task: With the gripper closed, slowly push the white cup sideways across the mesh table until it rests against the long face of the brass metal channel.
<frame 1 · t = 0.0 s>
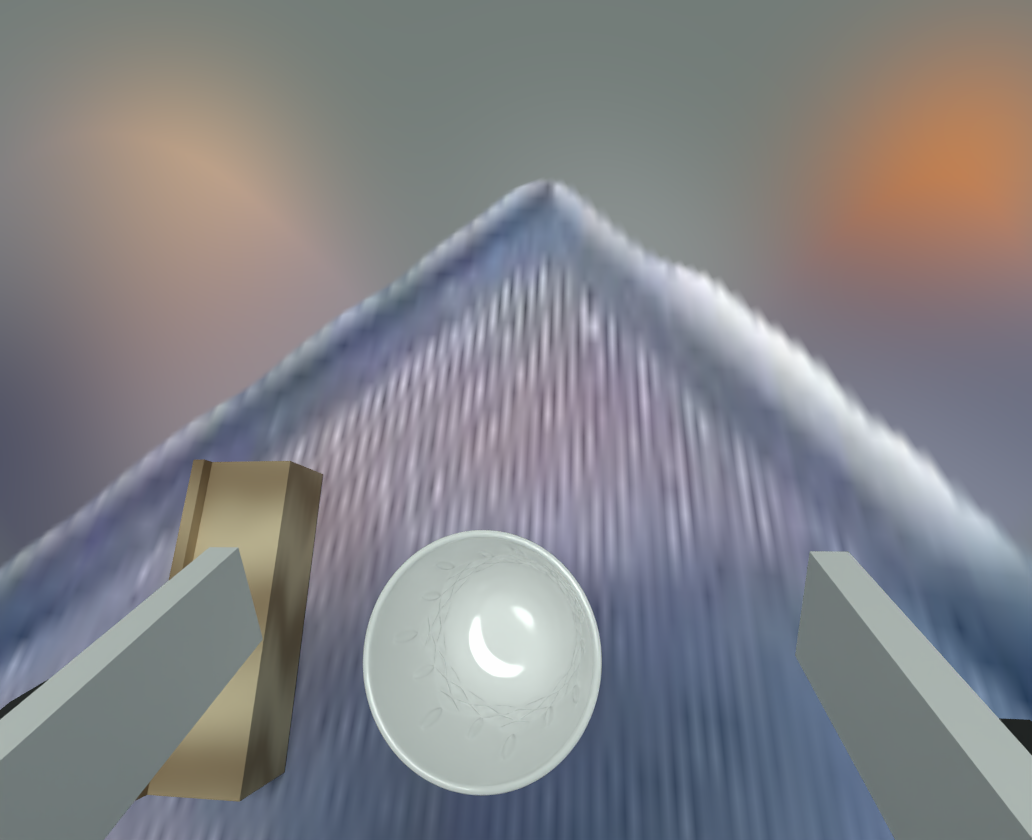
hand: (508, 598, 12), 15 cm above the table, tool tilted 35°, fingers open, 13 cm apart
white cup: (516, 626, 26), on the table
brass metal channel: (261, 610, 28), on the table
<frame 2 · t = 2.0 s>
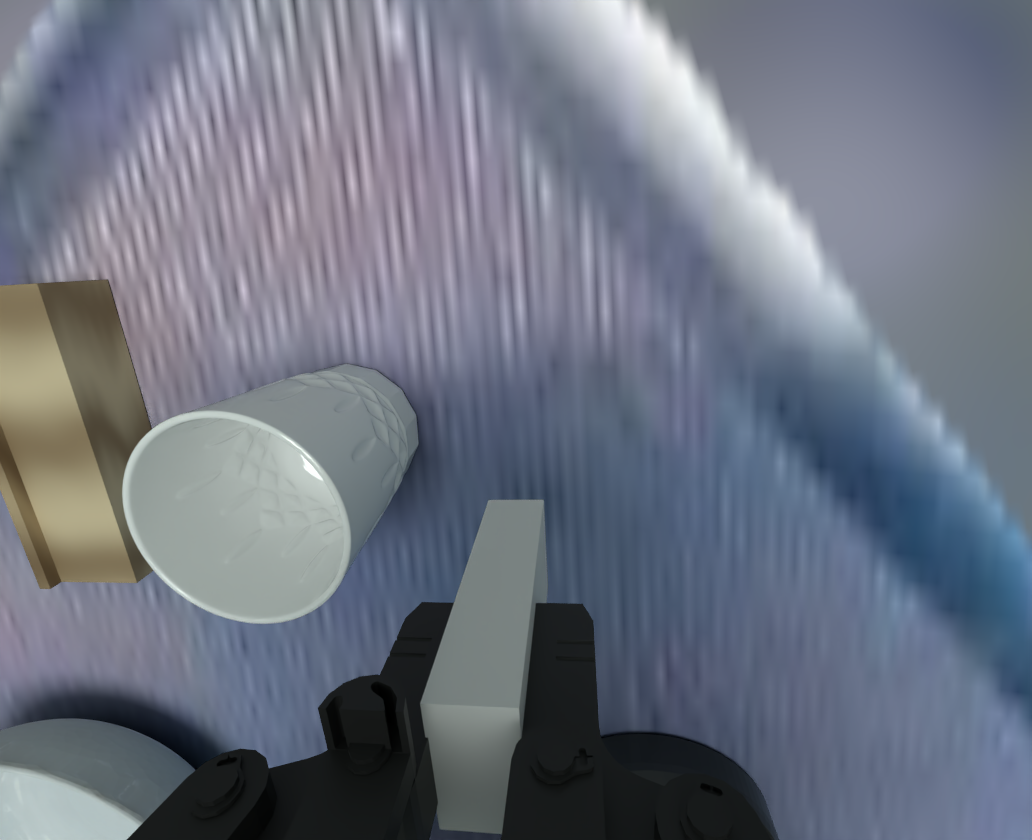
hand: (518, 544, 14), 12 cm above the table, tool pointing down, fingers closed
serving bowl: (139, 783, 37), on the table
white cup: (357, 426, 26), on the table
brass metal channel: (107, 425, 28), on the table
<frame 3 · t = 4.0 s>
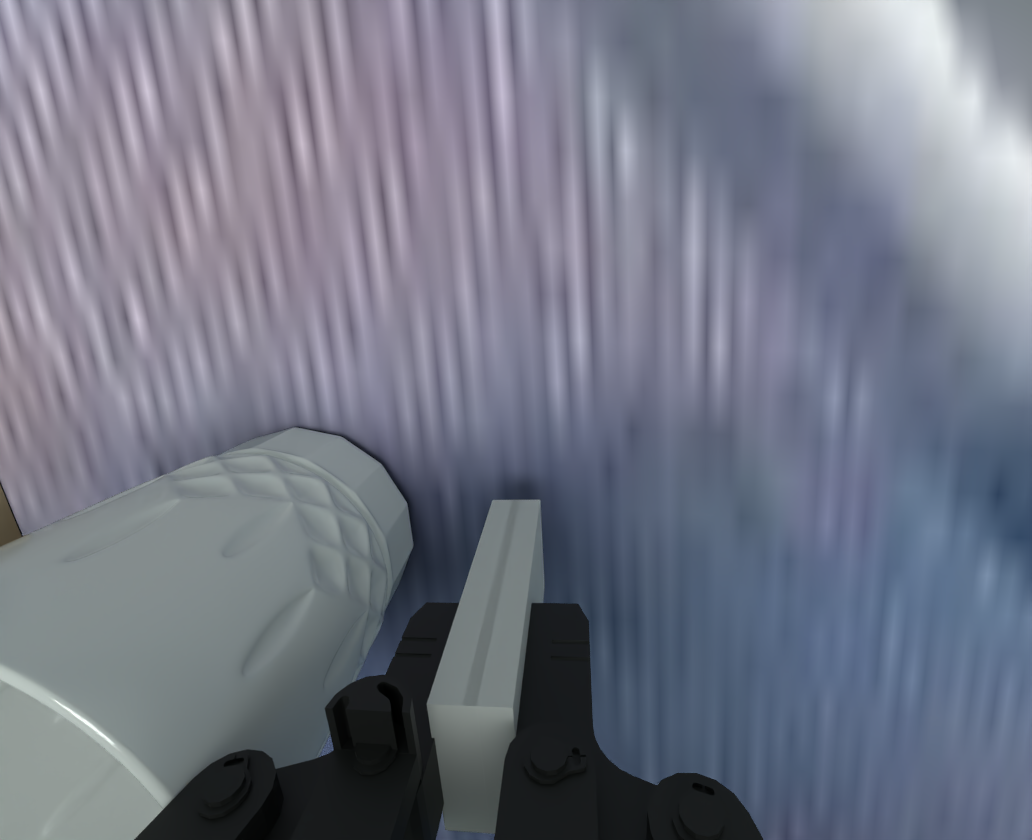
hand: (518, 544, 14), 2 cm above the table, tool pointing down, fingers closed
white cup: (320, 518, 17), on the table, touching gripper, hand
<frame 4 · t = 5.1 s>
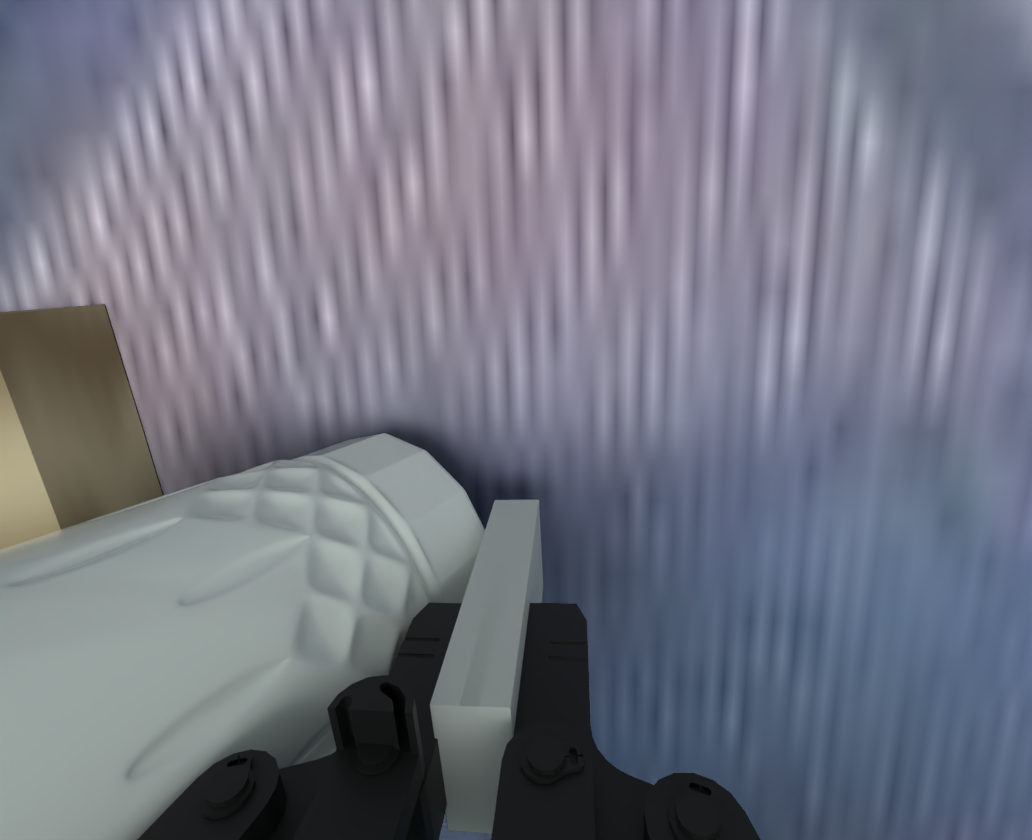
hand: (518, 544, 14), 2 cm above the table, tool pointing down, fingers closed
white cup: (412, 534, 15), point 1 cm above the table, touching gripper
brass metal channel: (105, 525, 18), on the table
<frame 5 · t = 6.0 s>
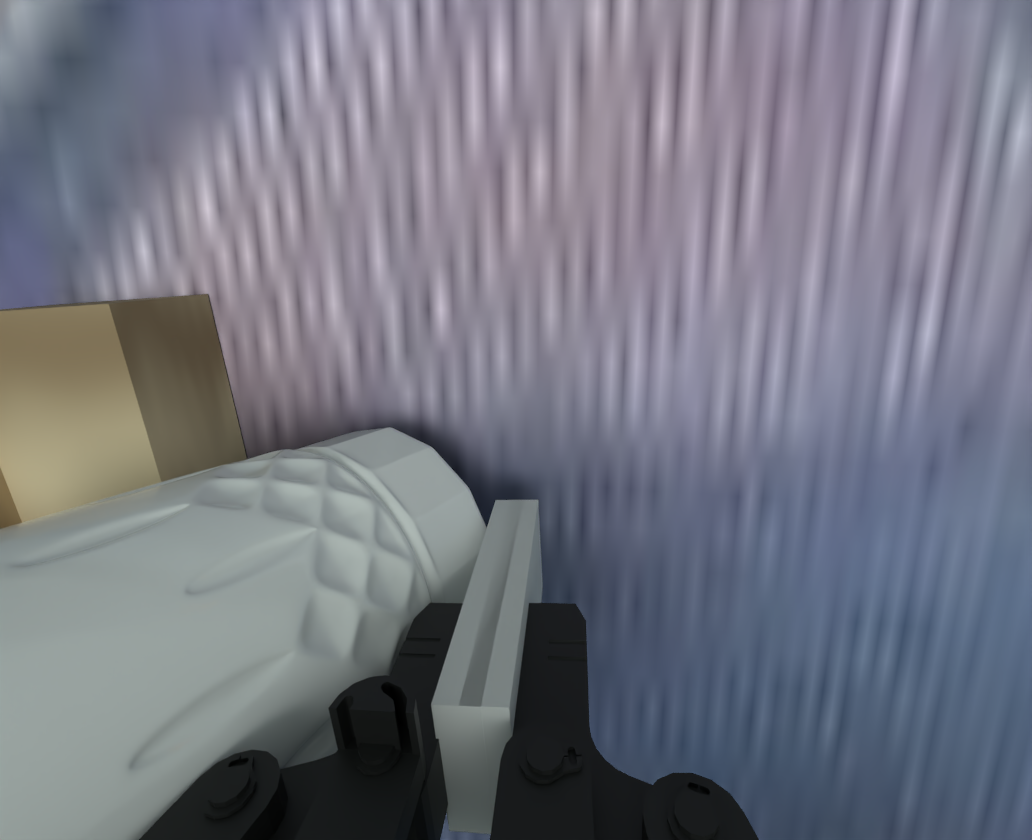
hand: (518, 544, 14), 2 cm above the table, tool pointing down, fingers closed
white cup: (411, 530, 15), point 1 cm above the table, touching gripper
brass metal channel: (193, 522, 18), on the table
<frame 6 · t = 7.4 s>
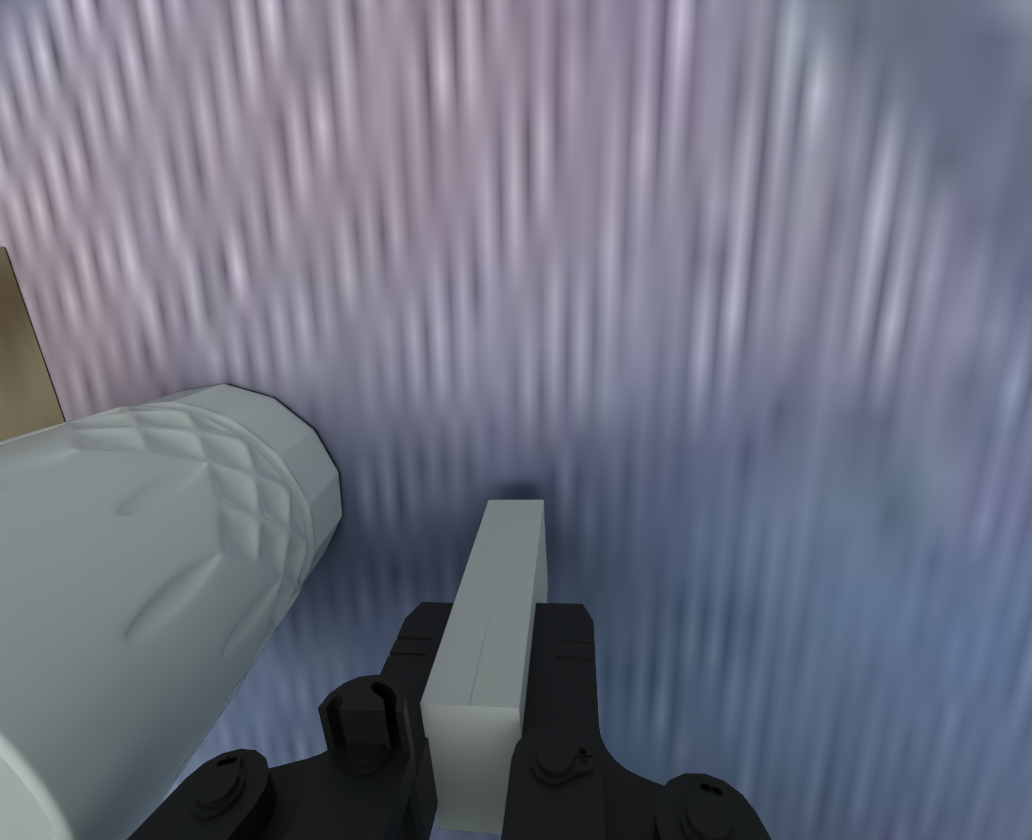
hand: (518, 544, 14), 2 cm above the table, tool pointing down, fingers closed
white cup: (247, 481, 17), on the table
brass metal channel: (20, 482, 17), on the table
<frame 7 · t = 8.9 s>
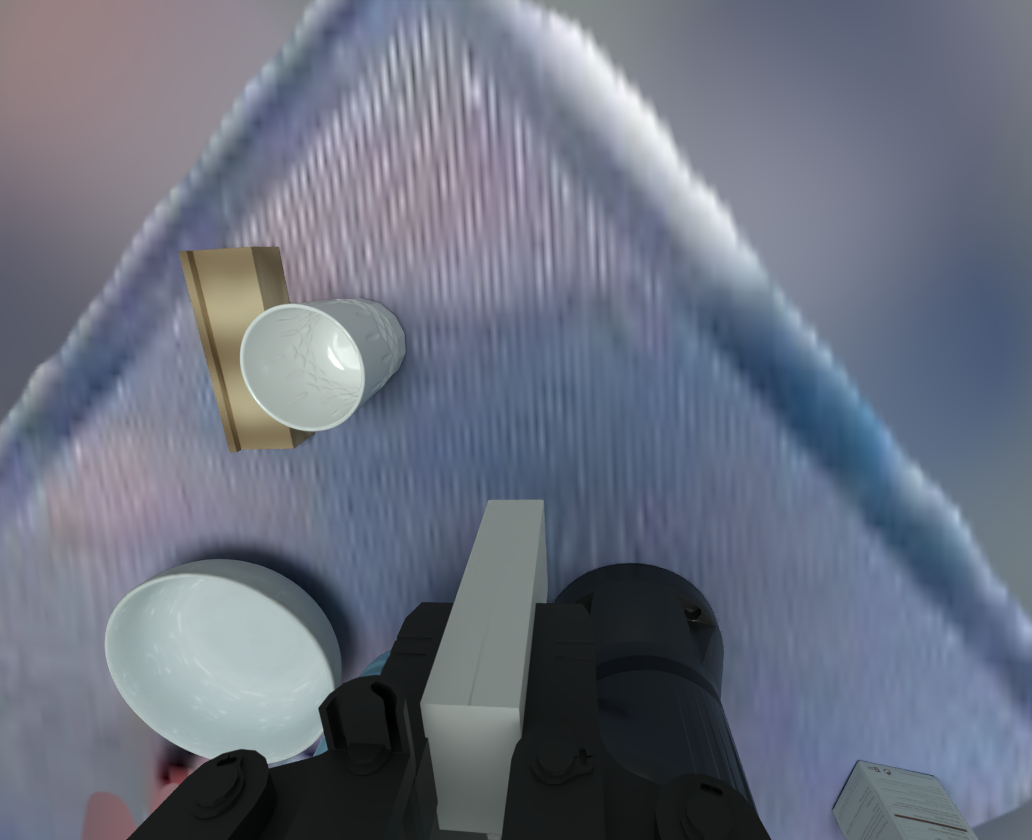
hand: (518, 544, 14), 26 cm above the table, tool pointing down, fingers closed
serving bowl: (263, 621, 51), on the table
supplement box: (880, 790, 49), on the table
white cup: (366, 341, 40), on the table
brass metal channel: (268, 346, 41), on the table
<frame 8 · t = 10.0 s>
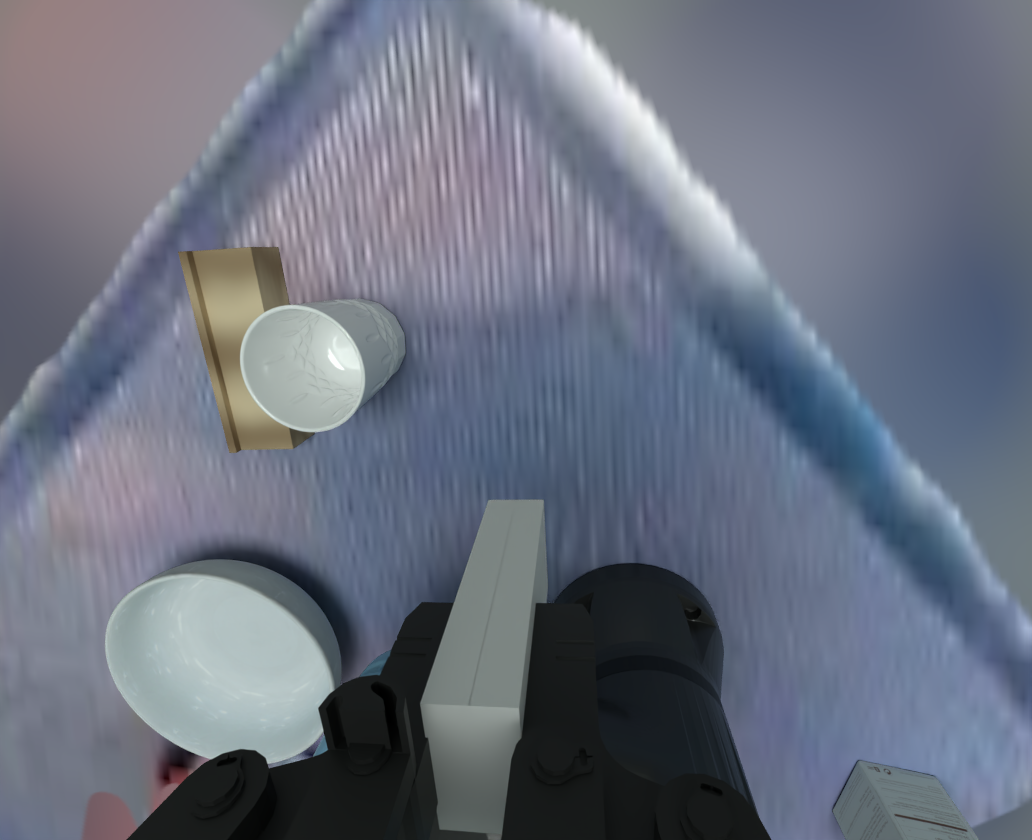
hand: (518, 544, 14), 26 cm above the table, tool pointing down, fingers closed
serving bowl: (263, 621, 51), on the table
supplement box: (880, 790, 49), on the table
white cup: (366, 341, 40), on the table
brass metal channel: (268, 347, 41), on the table
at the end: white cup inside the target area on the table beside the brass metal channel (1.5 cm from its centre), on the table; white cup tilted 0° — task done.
